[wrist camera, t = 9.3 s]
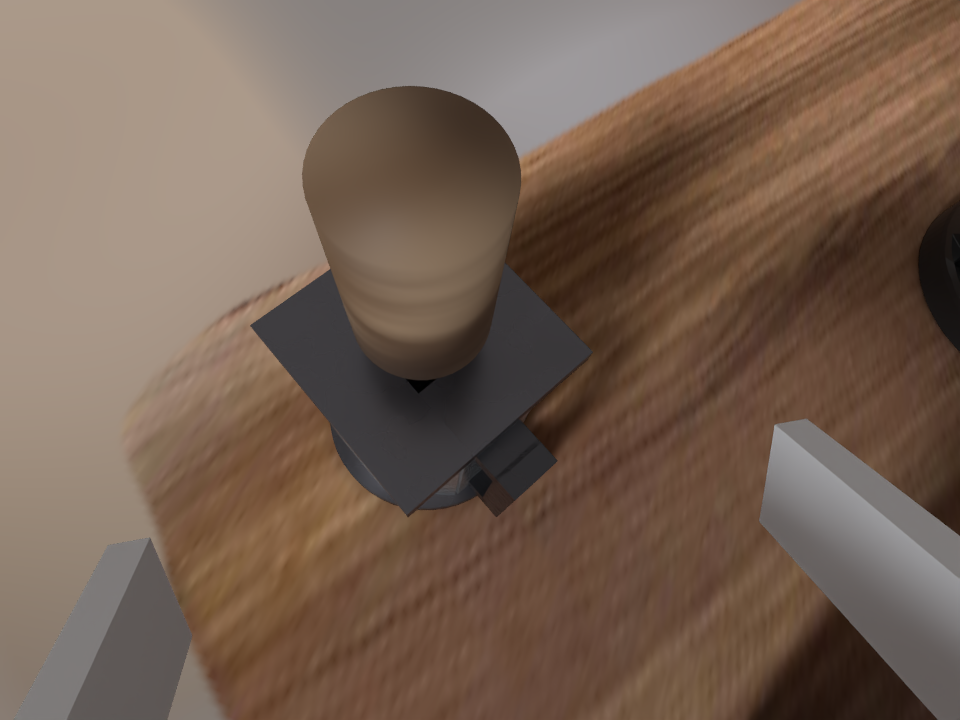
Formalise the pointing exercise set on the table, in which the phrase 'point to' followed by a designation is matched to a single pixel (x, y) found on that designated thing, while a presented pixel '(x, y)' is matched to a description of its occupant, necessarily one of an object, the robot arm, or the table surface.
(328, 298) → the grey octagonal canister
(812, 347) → the table surface
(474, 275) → the plunger
